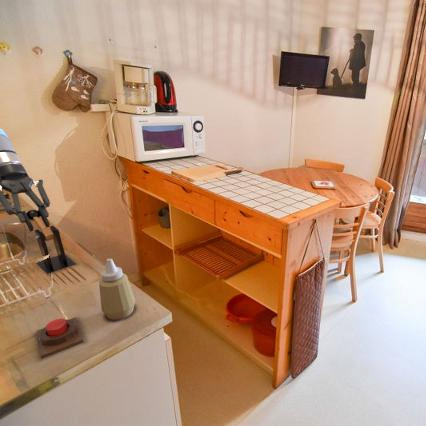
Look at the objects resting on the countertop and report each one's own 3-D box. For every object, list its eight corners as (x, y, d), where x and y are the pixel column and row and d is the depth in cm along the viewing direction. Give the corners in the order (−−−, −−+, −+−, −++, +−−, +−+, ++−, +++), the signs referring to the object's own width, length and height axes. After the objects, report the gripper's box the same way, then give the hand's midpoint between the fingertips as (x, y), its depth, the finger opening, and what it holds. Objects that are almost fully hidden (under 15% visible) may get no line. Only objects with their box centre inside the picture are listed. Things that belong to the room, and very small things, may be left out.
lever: (24, 217, 107) (23, 209, 105) (38, 214, 109) (36, 206, 107) (43, 243, 102) (42, 235, 100) (57, 239, 105) (56, 231, 103)
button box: (38, 335, 80) (34, 325, 79) (77, 322, 85) (74, 311, 84) (42, 361, 74) (38, 349, 72) (84, 344, 79) (81, 333, 77)
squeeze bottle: (118, 328, 84) (106, 271, 77) (96, 319, 87) (82, 263, 80) (143, 309, 92) (134, 256, 84) (122, 301, 94) (111, 249, 87)
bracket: (36, 265, 107) (25, 229, 101) (64, 256, 113) (55, 221, 108) (48, 277, 102) (36, 239, 96) (76, 266, 108) (67, 230, 103)
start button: (46, 329, 78) (44, 323, 77) (66, 322, 81) (65, 316, 80) (48, 339, 76) (46, 332, 75) (69, 331, 78) (67, 325, 77)
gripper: (39, 170, 116) (68, 224, 114) (-26, 179, 103) (6, 240, 102) (40, 159, 112) (71, 215, 110) (-27, 166, 99) (7, 230, 97)
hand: (40, 227), depth 106 cm, fingers closed on lever, 4 cm apart
